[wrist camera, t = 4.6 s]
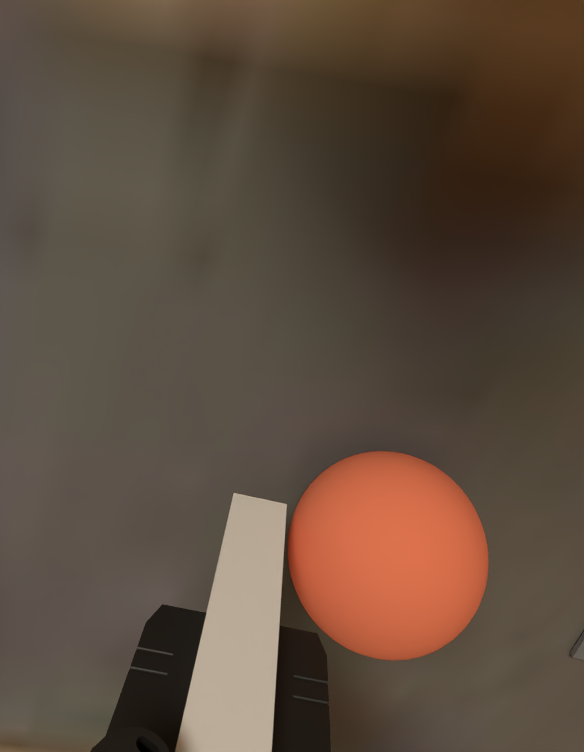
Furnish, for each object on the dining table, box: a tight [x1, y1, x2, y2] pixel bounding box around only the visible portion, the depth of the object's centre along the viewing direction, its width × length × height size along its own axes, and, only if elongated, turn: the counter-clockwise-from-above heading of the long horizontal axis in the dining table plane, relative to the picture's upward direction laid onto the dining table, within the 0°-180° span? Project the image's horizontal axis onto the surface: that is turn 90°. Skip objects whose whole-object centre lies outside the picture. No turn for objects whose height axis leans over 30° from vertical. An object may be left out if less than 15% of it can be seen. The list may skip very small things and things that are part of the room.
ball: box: [288, 451, 488, 660], centre depth 14 cm, size 6×6×6 cm
